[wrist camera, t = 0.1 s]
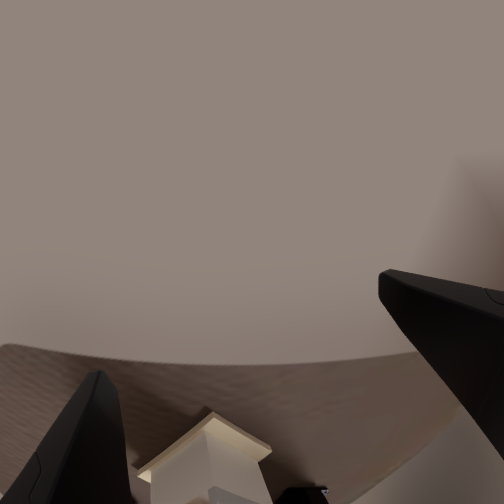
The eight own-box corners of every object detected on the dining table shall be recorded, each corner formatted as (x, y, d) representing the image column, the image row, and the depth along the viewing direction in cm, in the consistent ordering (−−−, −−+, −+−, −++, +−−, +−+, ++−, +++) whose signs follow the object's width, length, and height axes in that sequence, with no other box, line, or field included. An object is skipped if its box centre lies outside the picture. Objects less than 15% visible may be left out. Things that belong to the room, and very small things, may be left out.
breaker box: (269, 445, 28) (300, 514, 18) (195, 497, 27) (205, 562, 18) (212, 411, 26) (230, 489, 16) (138, 470, 25) (134, 541, 16)
